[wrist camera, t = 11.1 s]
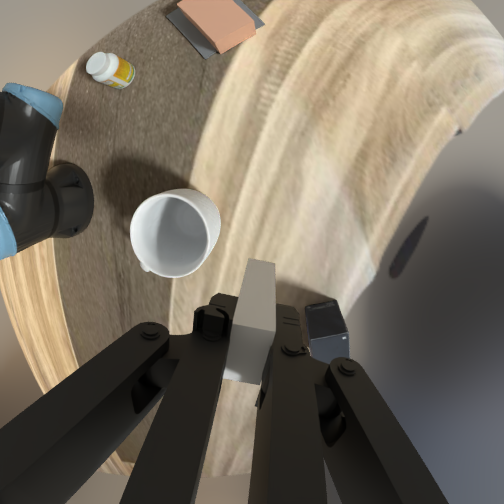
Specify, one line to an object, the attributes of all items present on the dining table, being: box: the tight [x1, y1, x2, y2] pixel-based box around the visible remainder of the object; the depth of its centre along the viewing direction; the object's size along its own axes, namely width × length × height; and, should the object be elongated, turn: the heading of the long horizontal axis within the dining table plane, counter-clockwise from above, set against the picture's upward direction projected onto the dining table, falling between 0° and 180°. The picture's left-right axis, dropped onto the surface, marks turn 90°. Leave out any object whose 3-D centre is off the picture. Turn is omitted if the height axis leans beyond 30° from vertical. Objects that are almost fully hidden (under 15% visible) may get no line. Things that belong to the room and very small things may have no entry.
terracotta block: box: [177, 0, 256, 54], centre depth 31 cm, size 5×7×12 cm
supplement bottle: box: [86, 52, 135, 89], centre depth 33 cm, size 5×5×10 cm
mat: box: [166, 0, 265, 59], centre depth 33 cm, size 14×12×1 cm
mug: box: [130, 189, 221, 278], centre depth 39 cm, size 15×11×13 cm
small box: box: [305, 300, 350, 364], centre depth 45 cm, size 11×6×10 cm, turn 13°
